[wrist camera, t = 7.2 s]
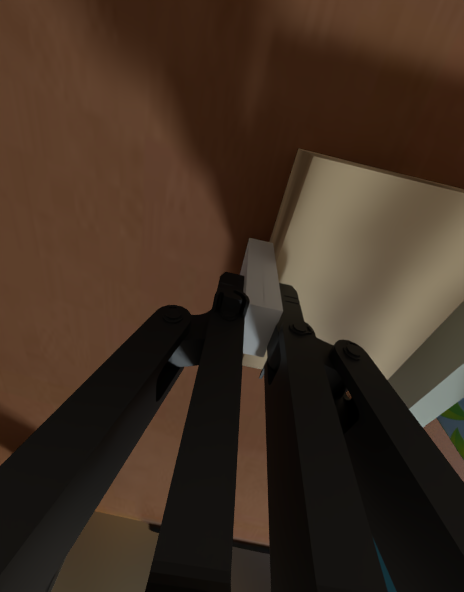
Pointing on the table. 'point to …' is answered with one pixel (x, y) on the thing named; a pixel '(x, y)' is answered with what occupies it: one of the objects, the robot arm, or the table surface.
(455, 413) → the snack box
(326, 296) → the block
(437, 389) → the board
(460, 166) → the table surface
